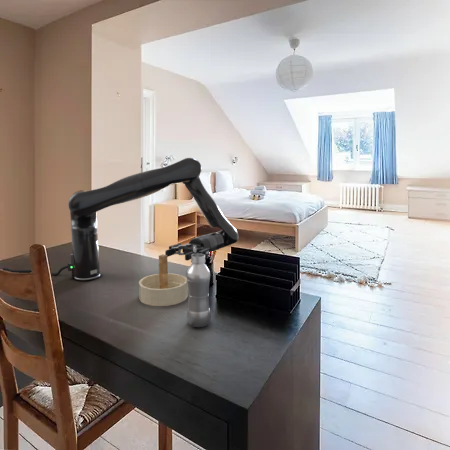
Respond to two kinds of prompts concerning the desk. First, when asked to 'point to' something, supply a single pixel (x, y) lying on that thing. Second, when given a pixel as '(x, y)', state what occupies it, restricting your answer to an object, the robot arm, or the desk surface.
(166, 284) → the wooden t-shaped block
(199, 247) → the robot arm
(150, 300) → the bowl
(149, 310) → the desk surface
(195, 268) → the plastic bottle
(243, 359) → the desk surface
